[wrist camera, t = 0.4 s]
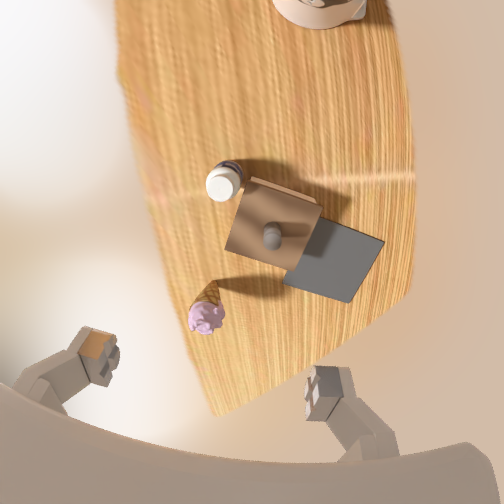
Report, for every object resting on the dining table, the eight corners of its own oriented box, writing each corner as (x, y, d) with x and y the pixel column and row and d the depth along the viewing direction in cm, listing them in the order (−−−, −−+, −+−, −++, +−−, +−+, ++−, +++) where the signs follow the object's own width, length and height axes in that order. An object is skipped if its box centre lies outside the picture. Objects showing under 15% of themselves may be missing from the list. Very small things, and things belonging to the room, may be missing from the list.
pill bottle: (249, 176, 52) (245, 191, 44) (227, 194, 54) (218, 212, 45) (230, 153, 50) (221, 164, 42) (207, 172, 52) (194, 186, 44)
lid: (247, 179, 47) (244, 189, 42) (322, 205, 49) (328, 219, 43) (225, 247, 53) (220, 264, 48) (293, 269, 55) (295, 287, 49)
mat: (313, 214, 55) (313, 215, 54) (383, 241, 56) (384, 242, 56) (282, 282, 62) (282, 283, 62) (348, 302, 64) (348, 303, 63)
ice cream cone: (220, 264, 61) (206, 311, 48) (236, 287, 63) (228, 336, 50) (194, 278, 63) (176, 325, 50) (211, 299, 65) (198, 347, 52)
